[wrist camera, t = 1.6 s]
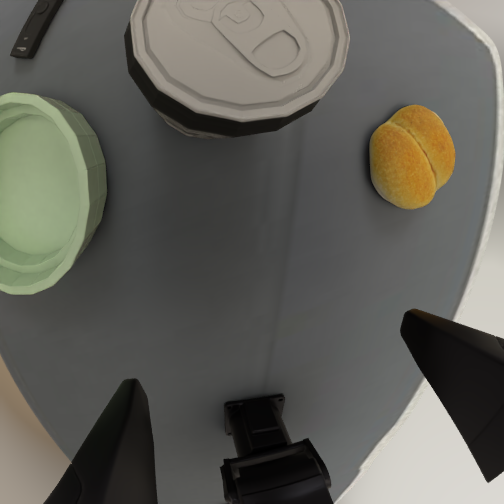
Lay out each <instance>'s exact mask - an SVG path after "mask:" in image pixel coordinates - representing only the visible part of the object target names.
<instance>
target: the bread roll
mask: <svg viewBox="0 0 504 504" xmlns="http://www.w3.org/2000/svg"><path fill="white" fill-rule="evenodd" d="M369 152H370V172H371V180H372V183H373V185H374V186H375V188H376V190H377V192H378V193H379V194H380V195H381V196H382V197H383V198H384V199H385V200H387V201H388V202H391V203H392V204H394V205H396V206H397V207H400V208H403V209H415V208H420V207H423V206H425V205H427V204H428V203H429V202H430V201H431V200H432V198H433V197H434V194H435V192H436V190H438V189H439V188H440V187H442V186H443V185H444V184H445V183H446V182H447V181H448V179H449V177H450V176H451V174H452V173H453V169H454V163H455V150H454V145H453V142H452V139H451V137H450V135H449V133H448V131H447V129H446V128H445V126H444V124H443V122H442V120H441V119H440V118H439V116H438V115H437V114H436V113H434V112H432V111H430V110H429V109H427V108H425V107H423V106H420V105H411V106H407V107H403V108H402V109H400V110H398V111H397V112H396V113H395V114H394V115H393V116H392V117H391V118H390V119H389V120H388V121H387V122H386V123H384V124H382V125H381V126H379V127H378V128H377V129H376V130H375V132H374V133H373V134H372V136H371V139H370V144H369Z"/></svg>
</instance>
